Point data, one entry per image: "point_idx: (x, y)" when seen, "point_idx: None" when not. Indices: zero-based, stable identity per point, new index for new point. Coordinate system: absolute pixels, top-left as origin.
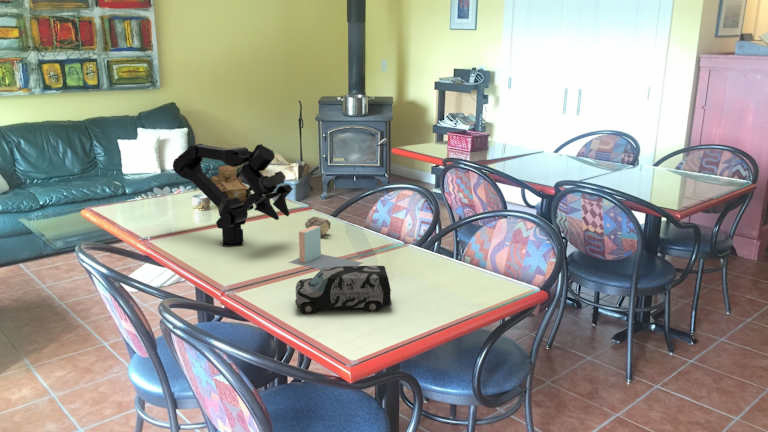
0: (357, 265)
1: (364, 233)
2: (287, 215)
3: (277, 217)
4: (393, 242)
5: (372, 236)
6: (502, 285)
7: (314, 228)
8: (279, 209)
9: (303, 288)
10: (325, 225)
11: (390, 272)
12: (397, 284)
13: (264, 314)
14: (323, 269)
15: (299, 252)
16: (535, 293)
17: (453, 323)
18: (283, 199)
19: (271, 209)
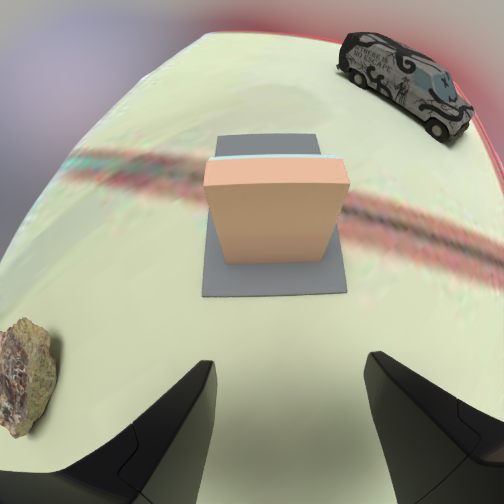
0: (242, 135)
1: (7, 268)
2: (214, 378)
3: (386, 358)
4: (57, 178)
5: (23, 238)
6: (213, 40)
7: (252, 158)
8: (197, 491)
9: (465, 104)
10: (22, 329)
11: (239, 94)
12: (284, 76)
13: (496, 165)
14: (438, 72)
15: (327, 244)
16: (220, 31)
17: (336, 42)
18: (99, 489)
19: (460, 401)
